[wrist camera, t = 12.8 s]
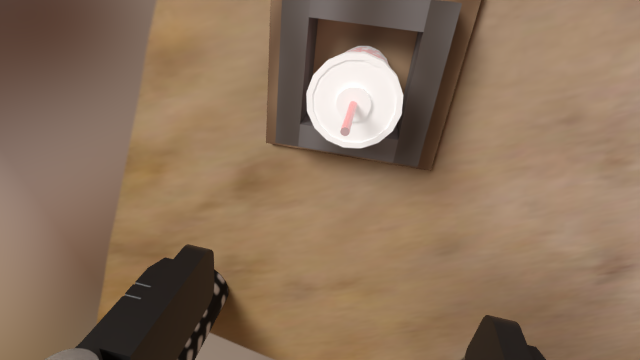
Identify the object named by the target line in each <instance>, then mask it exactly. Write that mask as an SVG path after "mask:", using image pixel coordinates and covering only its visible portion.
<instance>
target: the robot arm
mask: <svg viewBox="0 0 640 360" xmlns="http://www.w3.org/2000/svg"><path fill="white" fill-rule="evenodd" d="M213 293H214V254H213V251H212V250H210V249H206V248H202V247H197V246H193V245H189V244H188V245H186V246H184V247H183V248H182V250H181V251H180V252H179V253H178V254H177V256H176V257H175V258H174V259H169V258H164V259H162V260H160V261H159V262H157V263H155V264H154V265H152V266H150V267H149V268H147V270H146V271H145V272H144V273H143V274H142V275H141V276H140V277H139V278H138V280H137V281H136V283H135V285H134V284H133V285H132V286H131V287H130V288H129V290H128V291H127V292H126V293H125V296H122V297H121V298H120V300H119V301H118V302H117V303H116V304H115V305H114V306H113V307H112V308H111V310H110V311H109V312H108V313H107V314H106V315H105V316H104V317H103V318H102V320H101V321H100V322H99V323H98V324H97V325H96V326H95V327H94V329H93V330H92V331H91V332H90V333H89V334H88V335H87V336H86V337H85V338H84V340H83V341H82V342H81V343H80V344H79V345H78V346H76V347H75V348H74V349H68V350H64V351H61V352H58V353H56V354H54V355H52V356H50V357H48V358H46V359H45V360H177V358H178V357H179V355H180V353H181V352H182V350H183V348H184V347H185V345H186V343H187V342H188V340H189V338H190V337H191V335H192V333H193V331H194V330H195V328H196V326H197V325H198V323H199V321H200V320H201V318H202V316H203V315H204V313H205V311H206V310H207V308H208V306H209V304H210V302H211V299H212V296H213ZM462 360H546V359H545V358H544V357H543V355H542V354H541V353H540V351H539V350H538V349H537V348H536V347H534V346H529V345H527V343H526V341H525V338H524V335H523V333H522V330H521V328H520V326H519V324H518V323H517V322H515V321H511V320H506V319H502V318H498V317H494V316H489V315H486V316H485V317H484V318H483V319H482V321H481V323H480V325H479V327H478V329H477V331H476V333H475V335H474V337H473V338H472V340H471V342H470V344H469V346H468V348H467V351H466V354H465V358H464V359H462Z"/></svg>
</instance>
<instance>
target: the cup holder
mask: <svg viewBox="0 0 640 360" xmlns="http://www.w3.org/2000/svg"><path fill="white" fill-rule="evenodd" d="M480 2H481V0H271V8H270V39H269V70H268V100H267V131H266V143H271V144H276V145H282V146H288V147H294V148H300V149H306V150H312V151H318V152H324V153H330V154H335V155H341V156H347V157H353V158H359V159H365V160H371V161H377V162H383V163H389V164H394V165H400V166H406V167H412V168H418V169H424V170H430V171H431V168H432V165H433V161H434V158H435V154H436V151H437V148H438V144H439V141H440V138H441V134H442V131H443V127H444V124H445V121H446V117H447V114H448V111H449V107H450V104H451V100H452V97H453V94H454V90H455V87H456V84H457V80H458V77H459V73H460V70H461V67H462V63H463V60H464V57H465V53H466V50H467V46H468V43H469V40H470V36H471V33H472V29H473V26H474V23H475V19H476V16H477V13H478V9H479V6H480ZM357 46H370V47H373V48H375V49H377V50H379V51H380V52H381V53H382V54H383V55H384V56H385V58H386V59H387V61H388V64H389V66H390V68H391V69H392V70H393V71H394V72H395V73H396V74H397V77H398V80H399V83H400V86H401V89H402V92H403V105H402V115H401V117H400V118H399V120H398V122H397V124H396V126H395V128H394V129H393V131H392V132H391V133H390V134H389V135H387V136H386V137H385V138H384V139H382V140H381V141H380V142H379V143H376V144H373V145H370V146H367V147H364V148H345V147H341V146H339V145H337V144H334V143H332V142H330V141H328V140H326V139H325V138H324V137H323V136H322V135H321V134H320V133H319V132H318V131H317V130H316V129H315V128H314V126H313V124H312V121H311V119H310V117H309V115H308V112H307V96H306V93H307V90H308V87H309V85H310V82H311V79H312V77H313V75H314V74H315V73H316V72H317V70H318V69H319V68H320V67H321V66H322V65H323V64H324V63H325V62H326V61H327V60H329V59H331V58H333V57H335V56H338V55H340V54H342V53H345V52H346V51H348V50H350V49H352V48H355V47H357Z"/></svg>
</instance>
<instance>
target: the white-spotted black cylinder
mask: <svg viewBox="0 0 640 360" xmlns="http://www.w3.org/2000/svg"><path fill="white" fill-rule="evenodd" d="M227 297H228V287H227V284H226V282H225V280H224V279H223V277H222V276H221V275H220V274H219V273H218V272H216V271H215V270H214V293H213V296H212V299H211V302H210V304H209V306H208V308H207V310H206V311H205V313H204V315H203V316H202V318H201V320H200V321H199V323H198V325H197V326H196V328H195V330H194V331H193V333H192V335H191V337H190V338H189V340H188V342H187V343H186V345H185V347H184V348H183V350H182V352H181V353H180V355H179V357H178V358H177V360H195V358H196V356H197V354H198V353H199V351H200V349H201V347H202V345H203V343H204V341H205V339H206V337H207V335H208V334H209V332H210V330H211V328H212V326H213V324H214V322H215V320H216V318H217V316H218V314H219V313H220V311H221V309H222V307H223V305H224V303H225V301H226V299H227Z"/></svg>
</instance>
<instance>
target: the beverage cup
mask: <svg viewBox="0 0 640 360" xmlns="http://www.w3.org/2000/svg"><path fill="white" fill-rule="evenodd" d="M306 96H307V112H308V115H309V117H310V119H311V121H312V124H313V126H314V128H315V129H316V130H317V131H318V132H319V133H320V134H321V135H322V136H323V137H324V138H325V139H326V140H328V141H330V142H332V143H334V144H337V145H339V146H341V147H345V148H364V147H367V146H370V145H373V144H376V143H379V142H380V141H381V140H382V139H384V138H385V137H386V136H387V135H389V134H390V133H391V132H392V131H393V129H394V128H395V126H396V124H397V122H398V120H399V118H400V117H401V115H402V105H403V92H402V89H401V86H400V83H399V80H398V77H397V74H396V73H395V72H394V71H393V70H392V69H391V68H390V66H389V64H388V61H387V59H386V58H385V56H384V55H383V54H382V53H381V52H380V51H379V50H377V49H375V48H373V47H370V46H357V47H355V48H352V49H350V50H348V51H346V52H345V53H342V54H340V55H338V56H335V57H333V58H331V59H329V60H327V61H326V62H325V63H324V64H323V65H322V66H321V67H320V68H319V69H318V70H317V72H316V73H315V74H314V75H313V77H312V79H311V82H310V85H309V87H308V90H307V93H306Z"/></svg>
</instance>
